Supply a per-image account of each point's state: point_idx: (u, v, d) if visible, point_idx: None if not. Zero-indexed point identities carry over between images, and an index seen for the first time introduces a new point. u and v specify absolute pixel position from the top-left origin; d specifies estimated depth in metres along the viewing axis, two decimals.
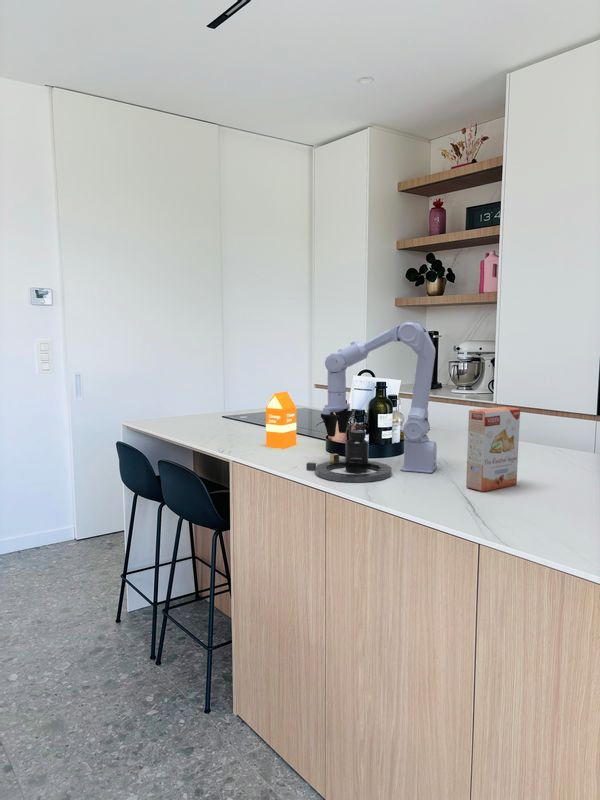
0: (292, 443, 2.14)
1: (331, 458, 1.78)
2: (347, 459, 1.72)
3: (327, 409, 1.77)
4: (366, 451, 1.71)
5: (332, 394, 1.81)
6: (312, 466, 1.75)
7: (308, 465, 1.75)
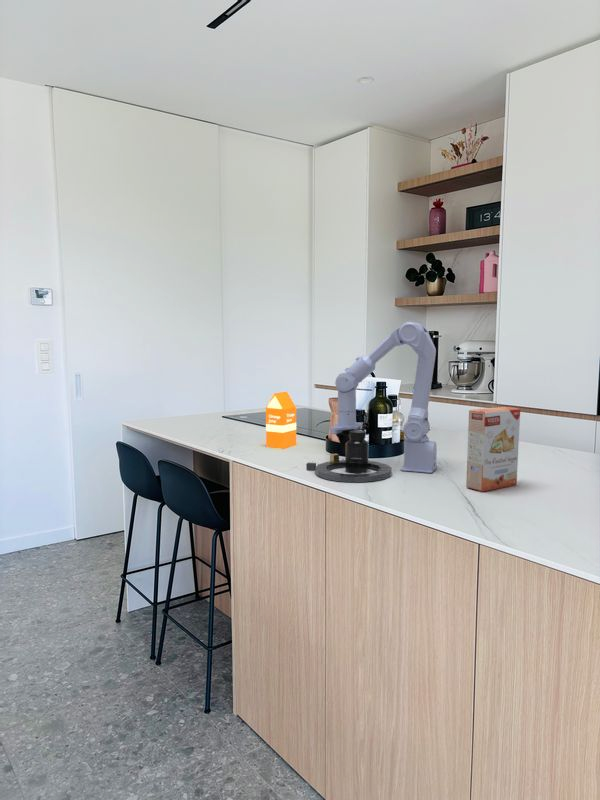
0: (292, 443, 2.14)
1: (331, 458, 1.78)
2: (347, 459, 1.72)
3: (334, 429, 1.77)
4: (366, 451, 1.71)
5: (341, 414, 1.80)
6: (312, 466, 1.75)
7: (308, 465, 1.75)
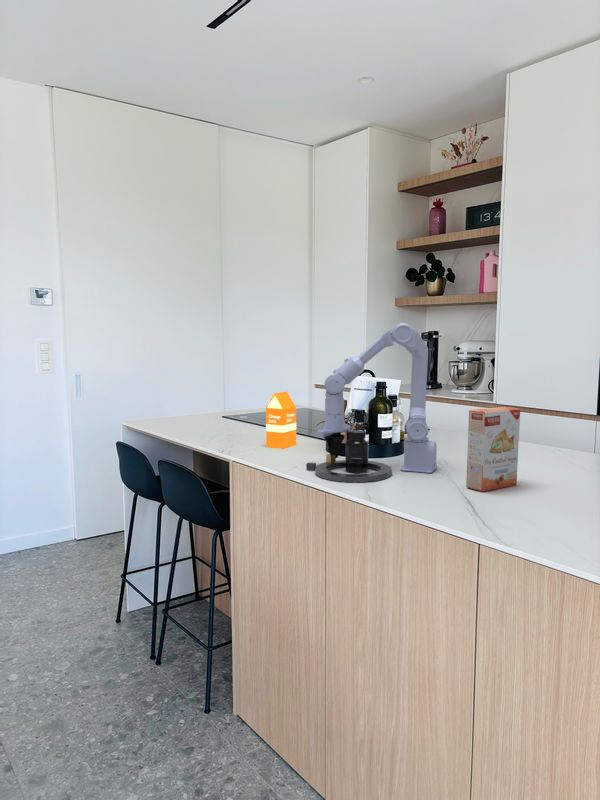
0: (292, 443, 2.14)
1: (328, 459, 1.77)
2: (347, 459, 1.72)
3: (320, 432, 1.72)
4: (366, 451, 1.71)
5: (328, 416, 1.75)
6: (312, 466, 1.75)
7: (308, 465, 1.75)
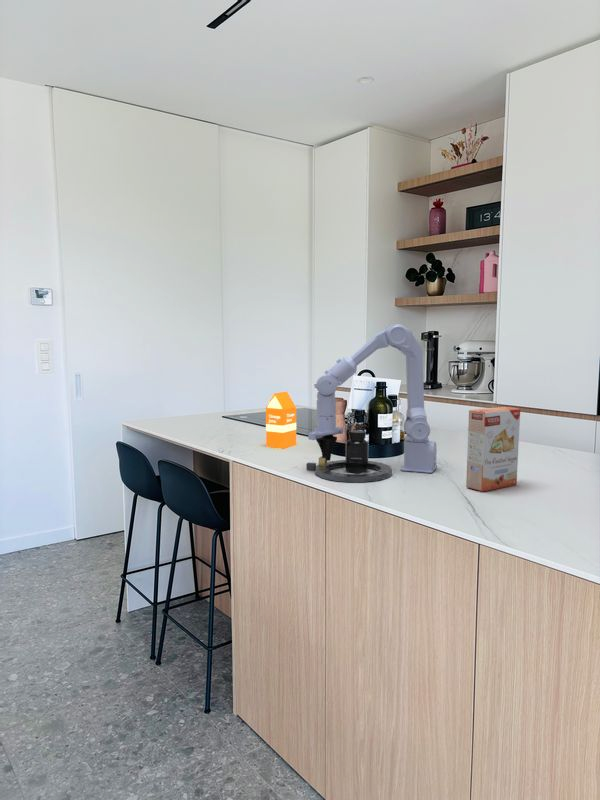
0: (292, 443, 2.14)
1: (321, 461, 1.73)
2: (347, 459, 1.72)
3: (312, 434, 1.69)
4: (366, 451, 1.71)
5: (320, 418, 1.72)
6: (312, 466, 1.75)
7: (308, 465, 1.75)
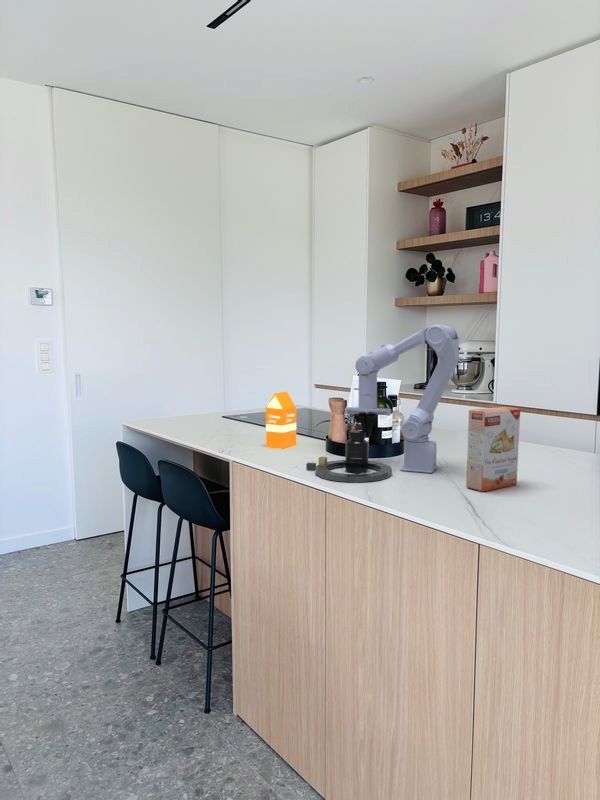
0: (292, 443, 2.14)
1: (321, 461, 1.73)
2: (347, 459, 1.72)
3: None
4: (366, 451, 1.71)
5: None
6: (312, 466, 1.75)
7: (308, 465, 1.75)
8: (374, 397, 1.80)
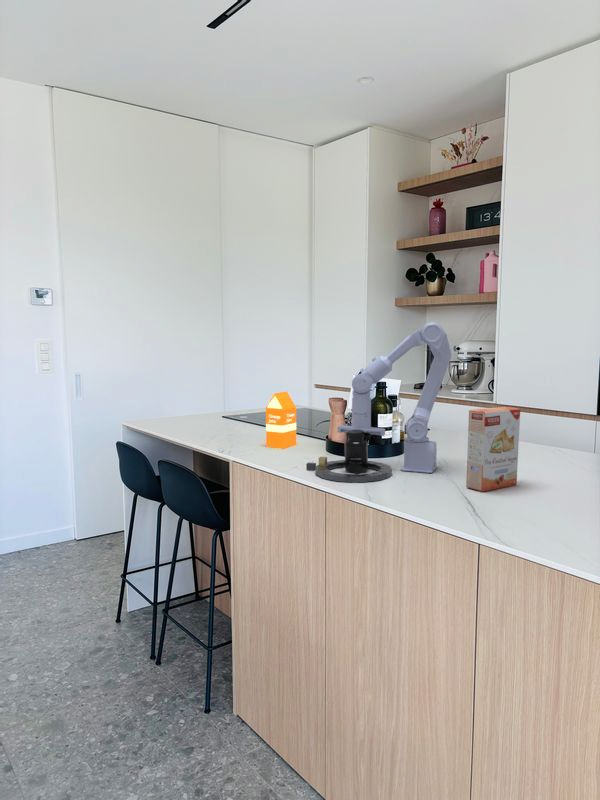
0: (292, 443, 2.14)
1: (321, 461, 1.73)
2: (346, 459, 1.72)
3: None
4: (365, 451, 1.71)
5: None
6: (312, 466, 1.75)
7: (308, 465, 1.75)
8: (368, 416, 1.75)
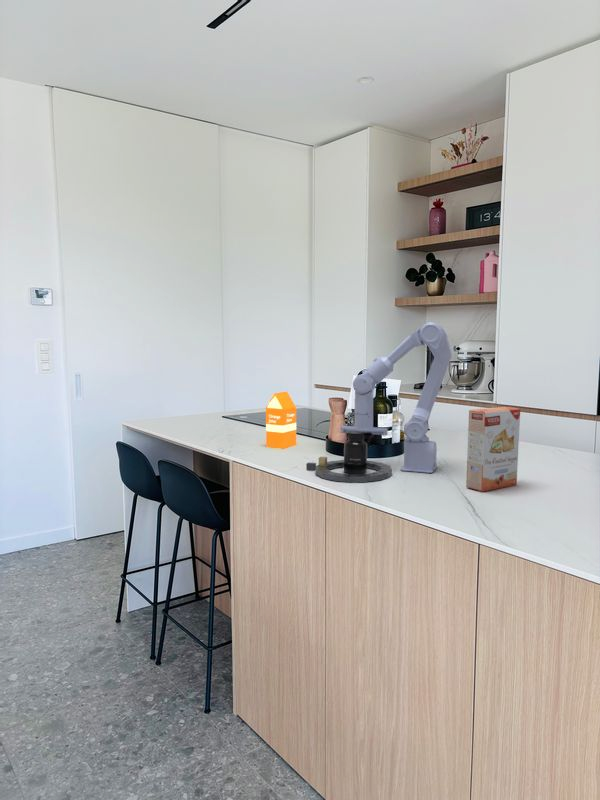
0: (292, 443, 2.14)
1: (321, 461, 1.73)
2: (346, 460, 1.70)
3: None
4: (365, 452, 1.70)
5: None
6: (312, 466, 1.75)
7: (308, 465, 1.75)
8: (370, 416, 1.77)
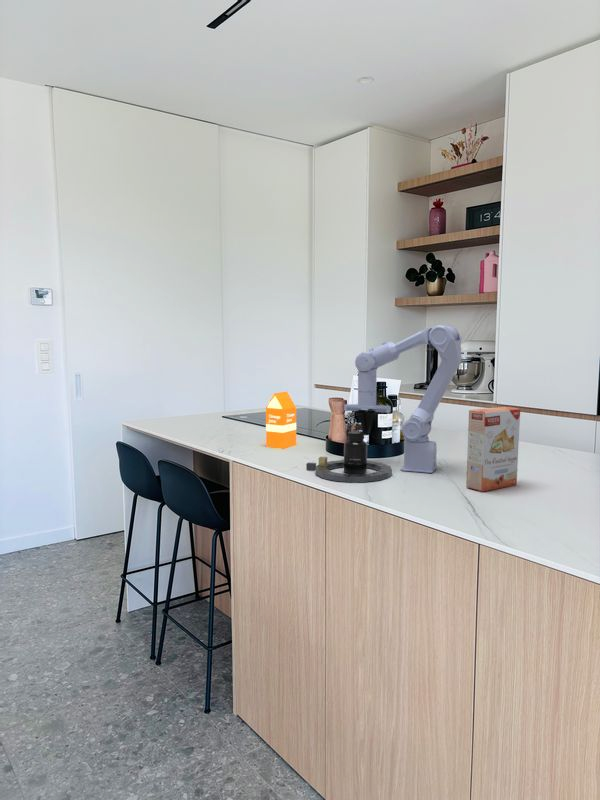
0: (292, 443, 2.14)
1: (321, 461, 1.73)
2: (346, 460, 1.70)
3: None
4: (365, 452, 1.70)
5: None
6: (312, 466, 1.75)
7: (308, 465, 1.75)
8: (373, 394, 1.79)
